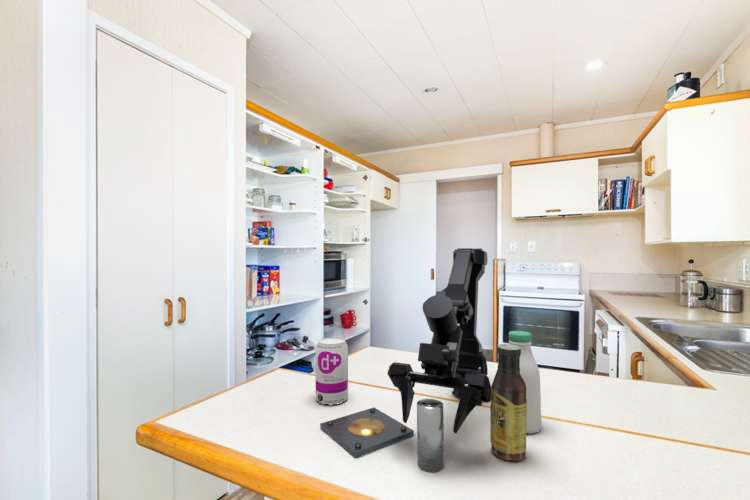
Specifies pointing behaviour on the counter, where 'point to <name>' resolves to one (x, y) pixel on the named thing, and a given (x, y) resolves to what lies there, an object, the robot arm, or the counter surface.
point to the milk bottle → (529, 378)
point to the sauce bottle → (508, 406)
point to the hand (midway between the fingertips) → (428, 427)
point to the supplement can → (331, 370)
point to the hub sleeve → (430, 435)
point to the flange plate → (366, 431)
